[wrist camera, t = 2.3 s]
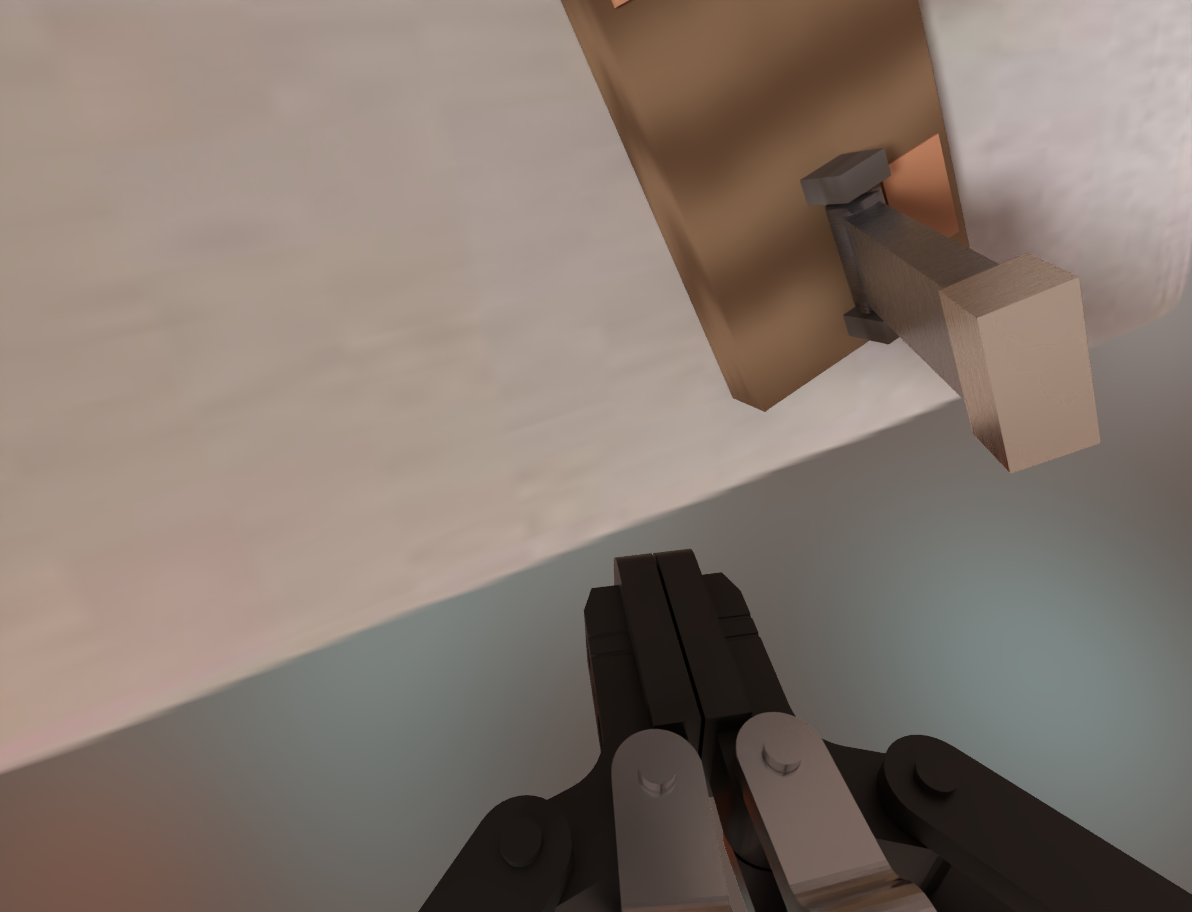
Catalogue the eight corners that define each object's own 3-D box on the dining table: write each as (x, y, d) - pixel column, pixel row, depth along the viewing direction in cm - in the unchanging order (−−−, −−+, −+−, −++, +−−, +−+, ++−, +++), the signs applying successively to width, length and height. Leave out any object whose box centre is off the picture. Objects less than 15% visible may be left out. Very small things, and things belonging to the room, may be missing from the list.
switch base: (482, -181, 24) (519, -291, 19) (784, -332, 26) (891, -469, 21) (733, 397, 35) (797, 426, 30) (928, 266, 37) (1021, 272, 32)
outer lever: (818, 204, 30) (976, 318, 17) (870, 180, 30) (1078, 277, 16) (849, 303, 33) (1010, 473, 19) (898, 282, 32) (1100, 442, 18)
